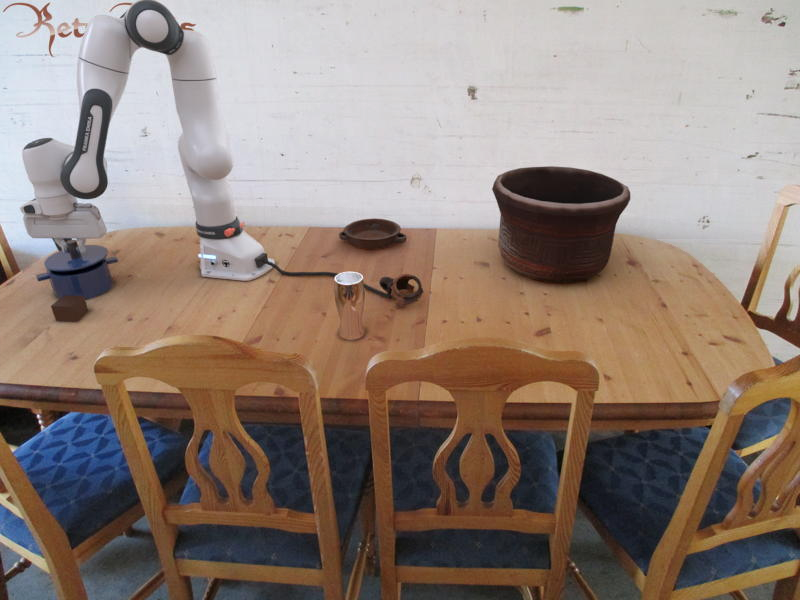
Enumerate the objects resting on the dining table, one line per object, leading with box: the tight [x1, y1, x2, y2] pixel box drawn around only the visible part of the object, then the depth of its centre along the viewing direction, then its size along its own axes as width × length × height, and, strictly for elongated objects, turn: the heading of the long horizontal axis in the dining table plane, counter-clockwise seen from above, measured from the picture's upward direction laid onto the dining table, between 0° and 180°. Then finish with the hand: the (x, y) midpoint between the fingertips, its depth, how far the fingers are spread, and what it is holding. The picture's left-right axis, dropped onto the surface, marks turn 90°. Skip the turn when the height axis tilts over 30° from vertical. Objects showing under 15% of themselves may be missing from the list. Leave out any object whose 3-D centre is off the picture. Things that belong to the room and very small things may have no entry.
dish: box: [338, 217, 407, 250], centre depth 185 cm, size 18×22×5 cm
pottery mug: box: [378, 273, 424, 309], centre depth 151 cm, size 12×10×8 cm
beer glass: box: [333, 271, 366, 341], centre depth 134 cm, size 7×7×15 cm
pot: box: [35, 255, 119, 301], centre depth 158 cm, size 15×20×8 cm
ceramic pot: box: [491, 165, 631, 284], centre depth 163 cm, size 37×37×25 cm
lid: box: [43, 239, 109, 271], centre depth 155 cm, size 16×16×6 cm
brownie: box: [50, 295, 89, 323], centre depth 146 cm, size 6×6×4 cm
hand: (74, 252), depth 155 cm, fingers closed on lid, 2 cm apart
